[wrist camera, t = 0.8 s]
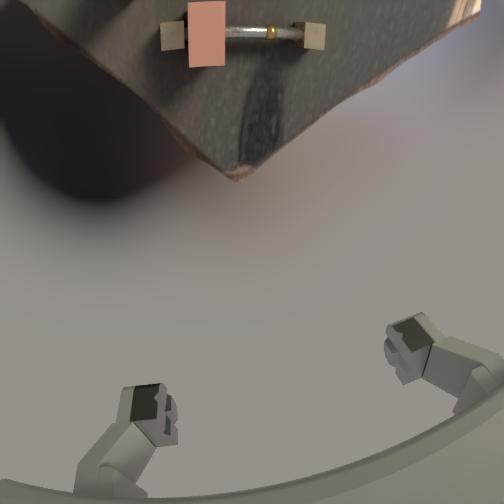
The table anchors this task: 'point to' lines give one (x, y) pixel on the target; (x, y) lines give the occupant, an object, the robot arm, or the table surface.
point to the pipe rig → (250, 34)
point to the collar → (206, 33)
